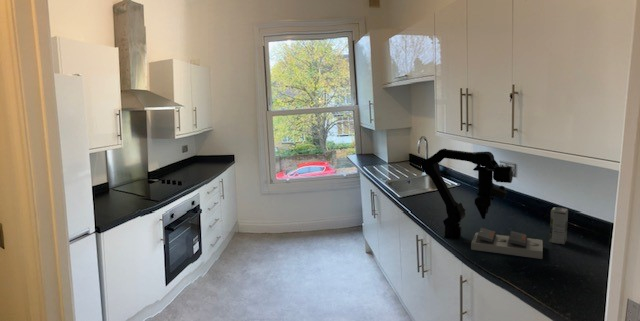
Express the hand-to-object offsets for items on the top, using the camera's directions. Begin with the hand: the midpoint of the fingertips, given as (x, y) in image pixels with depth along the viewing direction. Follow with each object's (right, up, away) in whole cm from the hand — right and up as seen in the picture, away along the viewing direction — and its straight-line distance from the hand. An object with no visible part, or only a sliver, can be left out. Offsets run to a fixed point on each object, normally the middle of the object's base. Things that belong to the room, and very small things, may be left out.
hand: (484, 215), depth 164 cm
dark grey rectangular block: (-1, -8, -3) cm, 9 cm away
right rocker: (+10, -9, -9) cm, 16 cm away
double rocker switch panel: (+5, -13, -5) cm, 14 cm away
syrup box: (+31, -11, -2) cm, 33 cm away
